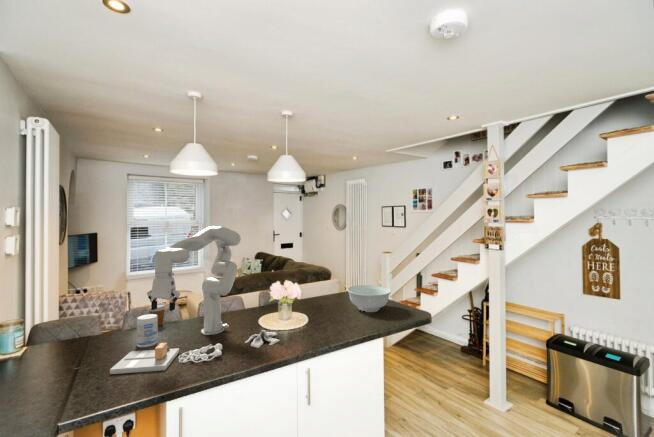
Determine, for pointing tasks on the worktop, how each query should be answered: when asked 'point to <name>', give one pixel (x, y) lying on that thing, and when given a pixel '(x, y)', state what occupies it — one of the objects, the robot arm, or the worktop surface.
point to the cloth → (262, 338)
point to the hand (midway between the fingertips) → (163, 309)
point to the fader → (160, 350)
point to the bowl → (368, 297)
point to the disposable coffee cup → (158, 313)
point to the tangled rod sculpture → (203, 356)
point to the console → (144, 361)
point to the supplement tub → (147, 330)
